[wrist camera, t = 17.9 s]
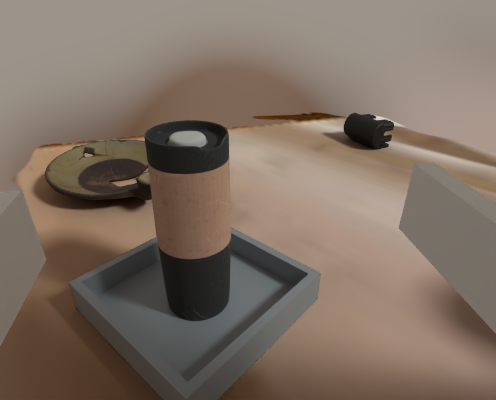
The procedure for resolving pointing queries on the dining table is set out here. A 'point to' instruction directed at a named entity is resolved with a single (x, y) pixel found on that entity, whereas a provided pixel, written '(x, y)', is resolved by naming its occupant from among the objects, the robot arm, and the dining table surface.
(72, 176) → the oil lamp
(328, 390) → the dining table surface
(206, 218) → the travel mug
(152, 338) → the parts tray
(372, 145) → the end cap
